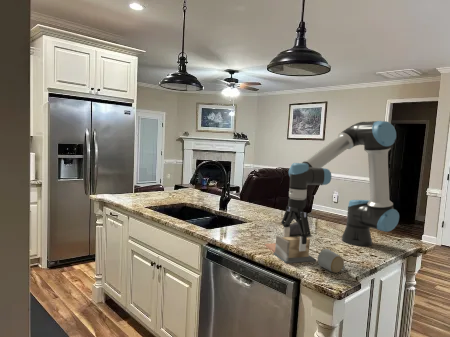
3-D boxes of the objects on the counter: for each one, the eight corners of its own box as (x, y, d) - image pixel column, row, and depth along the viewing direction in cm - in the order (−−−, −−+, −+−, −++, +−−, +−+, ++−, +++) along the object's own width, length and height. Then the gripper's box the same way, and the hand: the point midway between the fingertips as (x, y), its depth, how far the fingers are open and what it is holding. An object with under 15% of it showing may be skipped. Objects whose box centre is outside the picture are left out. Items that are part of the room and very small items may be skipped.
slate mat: (302, 252, 152) (302, 251, 152) (315, 261, 141) (316, 259, 141) (273, 254, 147) (273, 252, 147) (285, 263, 136) (285, 261, 136)
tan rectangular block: (299, 251, 151) (301, 234, 150) (312, 259, 141) (313, 241, 141) (274, 252, 146) (276, 235, 146) (286, 260, 137) (287, 242, 136)
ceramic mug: (331, 275, 127) (333, 255, 126) (316, 267, 134) (318, 249, 133) (350, 272, 132) (352, 253, 131) (334, 264, 139) (336, 247, 138)
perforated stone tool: (288, 237, 177) (289, 224, 176) (281, 234, 181) (282, 222, 180) (307, 234, 185) (308, 222, 184) (300, 232, 189) (301, 220, 189)
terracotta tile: (286, 242, 162) (265, 243, 158) (297, 249, 153) (274, 250, 149) (286, 246, 162) (264, 247, 158) (297, 252, 153) (274, 254, 149)
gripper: (276, 193, 152) (273, 237, 154) (305, 204, 129) (301, 256, 130) (290, 193, 155) (287, 237, 156) (321, 203, 131) (317, 254, 133)
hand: (293, 245), depth 143 cm, fingers open, 13 cm apart
